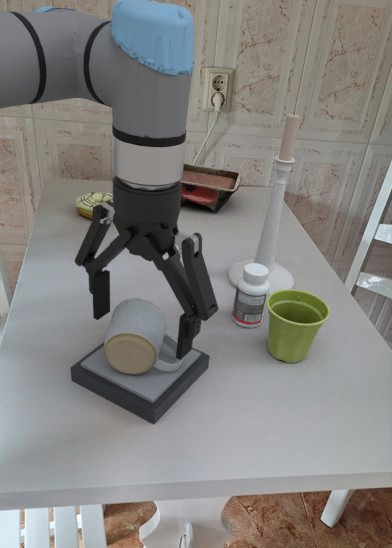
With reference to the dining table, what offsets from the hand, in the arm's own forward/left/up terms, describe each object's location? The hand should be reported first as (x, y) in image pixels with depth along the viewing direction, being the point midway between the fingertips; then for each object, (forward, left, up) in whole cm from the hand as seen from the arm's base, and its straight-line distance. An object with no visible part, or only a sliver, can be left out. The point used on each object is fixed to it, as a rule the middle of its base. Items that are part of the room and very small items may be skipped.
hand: (141, 333), depth 66 cm
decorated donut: (-40, +39, -7) cm, 56 cm away
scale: (0, 0, -7) cm, 7 cm away
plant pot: (+15, +18, -7) cm, 25 cm away
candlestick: (+2, +36, -7) cm, 37 cm away
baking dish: (-26, +61, -7) cm, 67 cm away
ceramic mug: (+1, 0, -4) cm, 4 cm away
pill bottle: (+6, +22, -7) cm, 24 cm away
